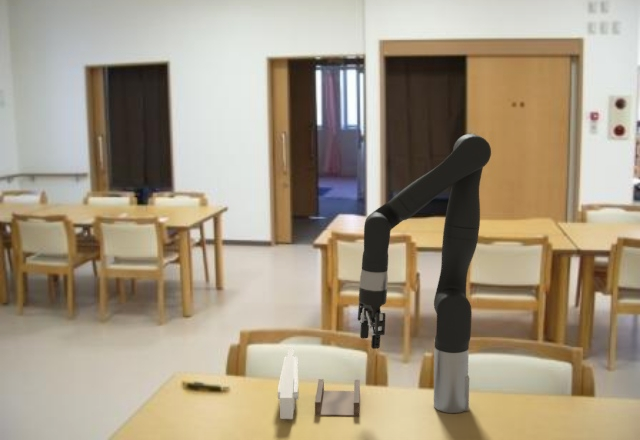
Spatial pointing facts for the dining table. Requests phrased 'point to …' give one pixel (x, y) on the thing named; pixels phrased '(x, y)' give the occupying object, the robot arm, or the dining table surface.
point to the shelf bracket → (288, 385)
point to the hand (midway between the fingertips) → (369, 343)
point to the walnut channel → (337, 401)
